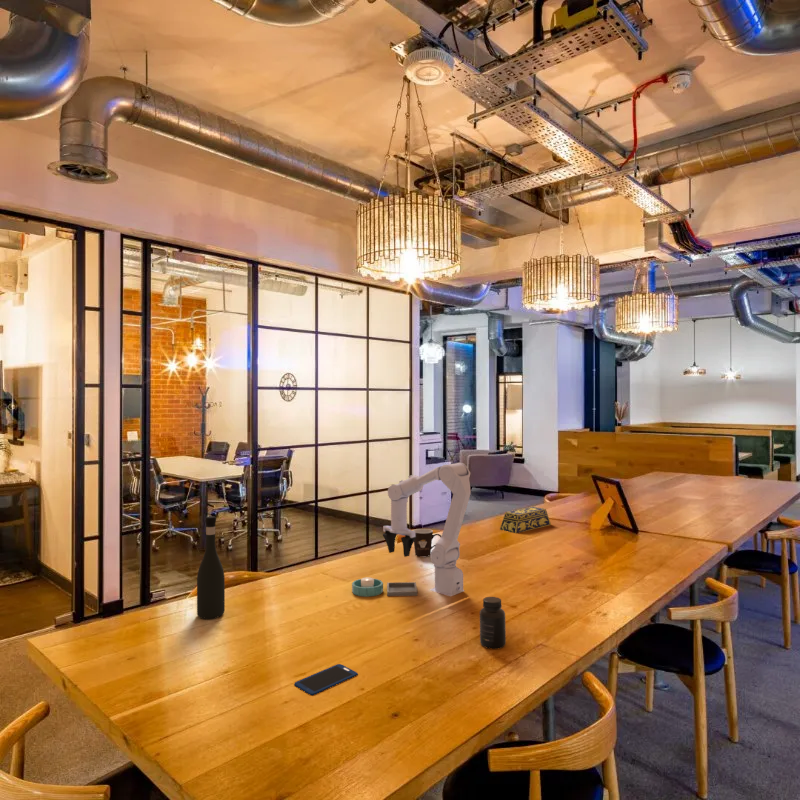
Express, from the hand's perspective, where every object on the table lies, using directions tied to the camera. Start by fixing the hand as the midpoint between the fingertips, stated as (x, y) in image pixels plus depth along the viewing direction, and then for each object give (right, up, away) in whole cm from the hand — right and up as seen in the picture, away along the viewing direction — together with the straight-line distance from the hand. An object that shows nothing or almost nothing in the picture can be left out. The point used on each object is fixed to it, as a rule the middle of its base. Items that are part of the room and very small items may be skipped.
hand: (399, 554), depth 208 cm
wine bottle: (-57, -10, -34) cm, 67 cm away
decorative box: (+65, -10, +86) cm, 108 cm away
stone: (-11, -9, -14) cm, 20 cm away
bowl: (-11, -9, -14) cm, 20 cm away
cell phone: (-17, -10, -74) cm, 76 cm away
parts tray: (+1, -9, -13) cm, 16 cm away
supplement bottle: (+25, -10, -55) cm, 61 cm away
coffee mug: (+11, -10, +33) cm, 37 cm away
